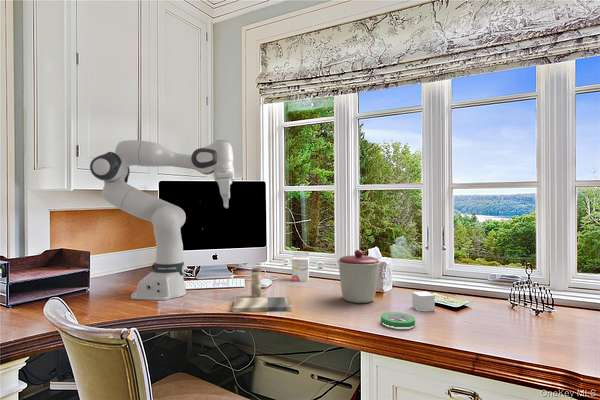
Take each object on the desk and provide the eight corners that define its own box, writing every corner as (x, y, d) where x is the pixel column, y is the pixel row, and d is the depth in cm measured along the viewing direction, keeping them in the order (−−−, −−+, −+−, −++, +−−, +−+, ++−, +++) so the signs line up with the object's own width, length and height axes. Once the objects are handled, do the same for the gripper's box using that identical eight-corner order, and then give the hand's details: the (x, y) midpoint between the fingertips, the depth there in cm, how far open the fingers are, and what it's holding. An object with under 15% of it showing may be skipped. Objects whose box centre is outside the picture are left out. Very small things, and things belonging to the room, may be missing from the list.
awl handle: (251, 298, 154) (251, 269, 154) (251, 295, 158) (251, 268, 158) (260, 298, 154) (260, 269, 154) (260, 295, 158) (261, 268, 158)
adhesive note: (420, 312, 136) (420, 296, 136) (412, 307, 142) (412, 292, 142) (434, 311, 138) (434, 295, 138) (426, 306, 144) (426, 291, 144)
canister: (362, 292, 164) (362, 246, 164) (389, 302, 148) (390, 251, 148) (328, 297, 156) (328, 248, 156) (353, 308, 140) (354, 254, 140)
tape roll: (421, 328, 119) (421, 320, 119) (392, 332, 116) (392, 323, 116) (402, 318, 130) (403, 310, 130) (375, 321, 126) (375, 313, 126)
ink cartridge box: (291, 281, 187) (291, 252, 187) (292, 279, 192) (293, 251, 192) (308, 281, 186) (308, 253, 186) (309, 279, 191) (309, 251, 191)
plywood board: (232, 312, 135) (232, 308, 135) (235, 301, 149) (235, 297, 149) (291, 310, 137) (291, 306, 137) (289, 300, 151) (289, 297, 151)
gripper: (218, 180, 171) (220, 209, 170) (215, 173, 151) (217, 206, 150) (232, 179, 172) (233, 208, 171) (231, 172, 152) (233, 205, 151)
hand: (226, 207), depth 161 cm, fingers open, 8 cm apart
